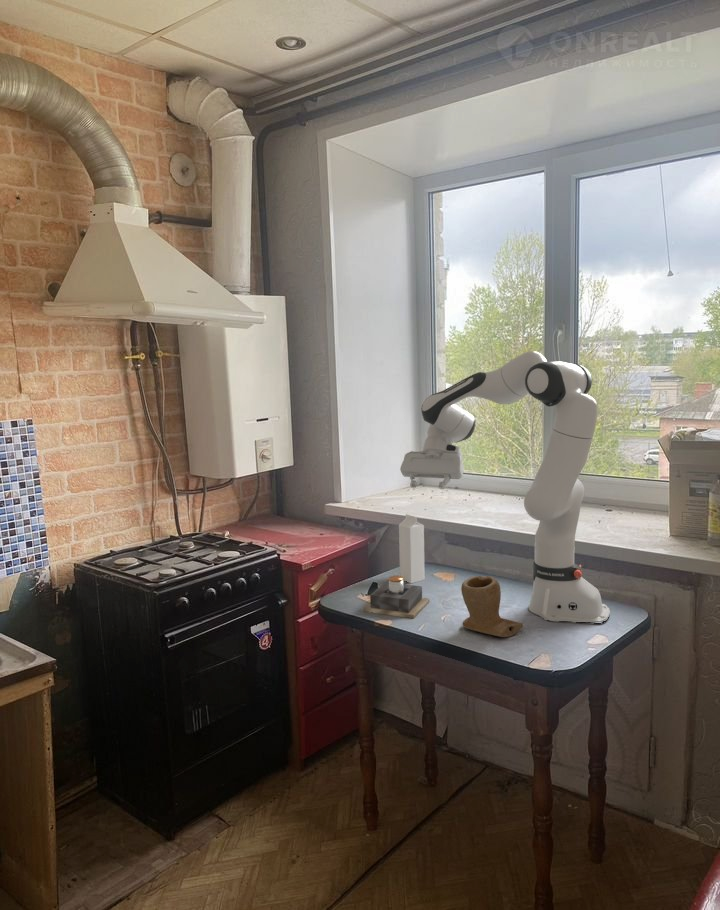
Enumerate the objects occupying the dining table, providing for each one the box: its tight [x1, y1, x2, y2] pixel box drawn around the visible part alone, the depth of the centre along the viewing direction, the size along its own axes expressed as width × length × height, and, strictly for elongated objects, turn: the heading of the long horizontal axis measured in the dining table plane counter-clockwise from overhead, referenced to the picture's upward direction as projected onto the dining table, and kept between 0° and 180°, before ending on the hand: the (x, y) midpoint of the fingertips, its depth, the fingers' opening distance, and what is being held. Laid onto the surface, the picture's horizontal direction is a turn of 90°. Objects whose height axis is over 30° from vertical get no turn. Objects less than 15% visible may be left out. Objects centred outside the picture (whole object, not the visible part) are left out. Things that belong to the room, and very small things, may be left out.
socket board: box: [362, 581, 430, 619], centre depth 204 cm, size 16×14×5 cm
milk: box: [398, 513, 426, 584], centre depth 227 cm, size 6×6×22 cm
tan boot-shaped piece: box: [460, 575, 524, 638], centre depth 183 cm, size 15×12×15 cm
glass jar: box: [388, 574, 405, 595], centre depth 204 cm, size 4×4×8 cm
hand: (426, 487), depth 215 cm, fingers open, 8 cm apart
